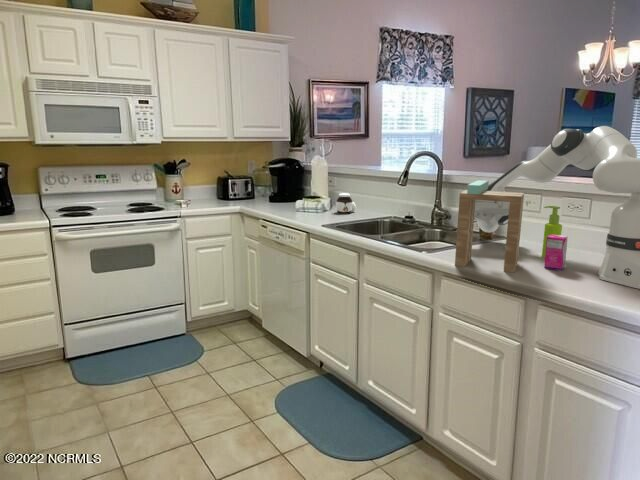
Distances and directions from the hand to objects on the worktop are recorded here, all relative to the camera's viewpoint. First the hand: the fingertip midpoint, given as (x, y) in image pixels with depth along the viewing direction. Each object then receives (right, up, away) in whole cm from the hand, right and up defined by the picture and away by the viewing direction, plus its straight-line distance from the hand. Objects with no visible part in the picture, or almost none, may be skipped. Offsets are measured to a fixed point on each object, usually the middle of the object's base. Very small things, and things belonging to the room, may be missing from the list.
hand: (483, 199), depth 196 cm
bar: (-8, +1, -18) cm, 20 cm away
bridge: (-6, -25, -19) cm, 32 cm away
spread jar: (-50, 0, +106) cm, 117 cm away
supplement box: (+17, -27, -23) cm, 39 cm away
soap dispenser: (+23, -24, -7) cm, 33 cm away
